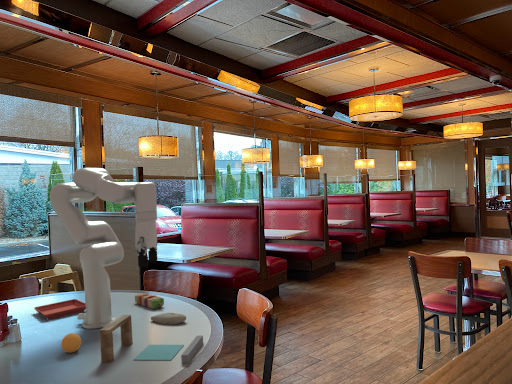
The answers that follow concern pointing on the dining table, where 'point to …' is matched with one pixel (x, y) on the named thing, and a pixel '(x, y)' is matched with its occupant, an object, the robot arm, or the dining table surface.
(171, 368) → the dining table surface
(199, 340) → the stopper rail
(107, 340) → the bridge
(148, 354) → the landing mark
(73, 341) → the ball
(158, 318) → the decorative stone
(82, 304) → the plant saucer
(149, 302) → the skewer
